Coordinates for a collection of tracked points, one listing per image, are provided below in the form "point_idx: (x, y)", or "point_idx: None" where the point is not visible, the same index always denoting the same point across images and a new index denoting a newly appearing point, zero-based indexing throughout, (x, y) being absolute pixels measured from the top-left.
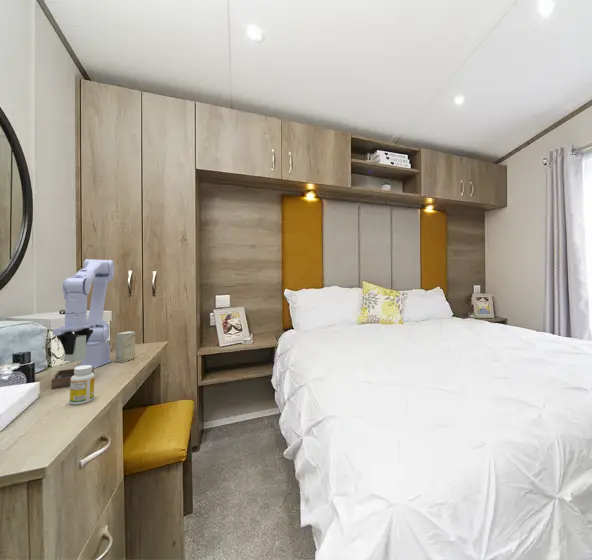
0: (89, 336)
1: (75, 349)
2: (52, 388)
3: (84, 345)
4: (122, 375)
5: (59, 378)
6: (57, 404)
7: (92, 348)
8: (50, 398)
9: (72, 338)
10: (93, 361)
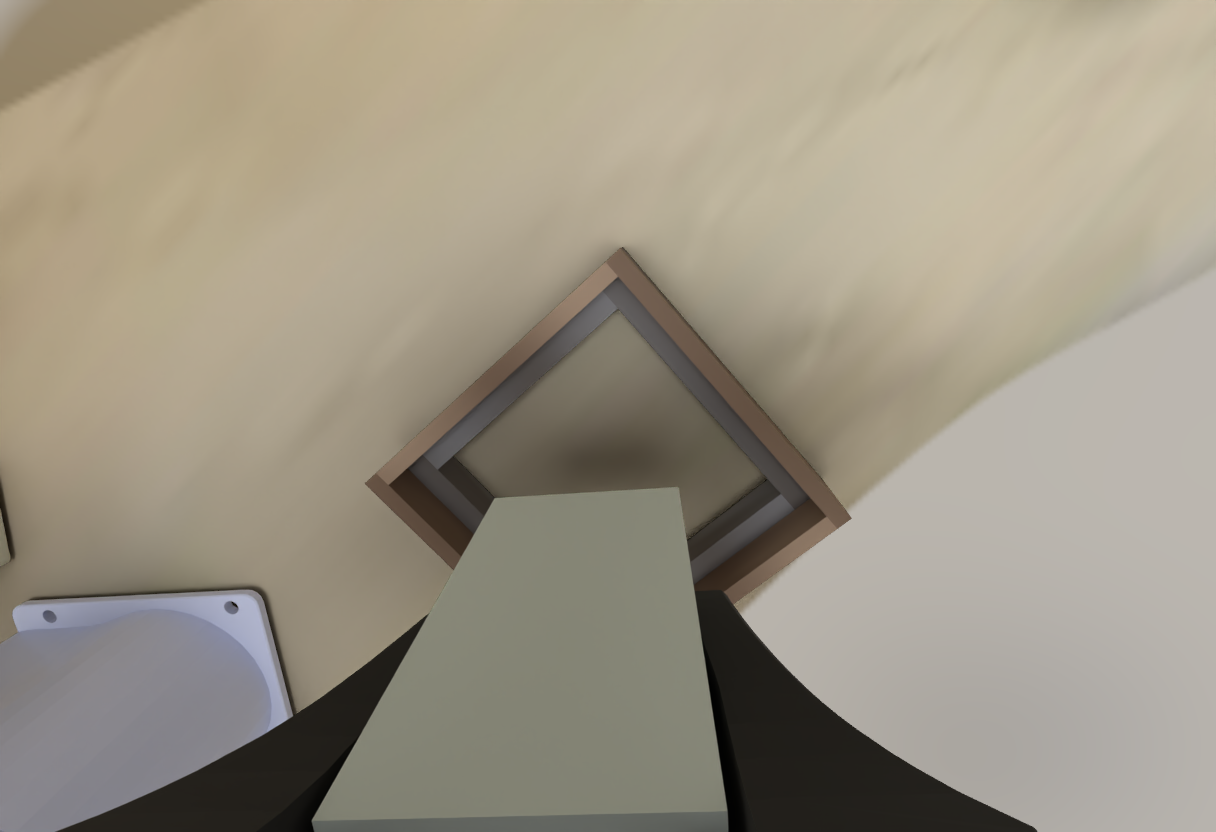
0: (214, 772)
1: (690, 594)
2: (820, 477)
3: (463, 618)
4: (344, 92)
5: (807, 478)
6: (1179, 70)
7: (72, 805)
8: (1030, 284)
9: (908, 791)
10: (195, 664)
